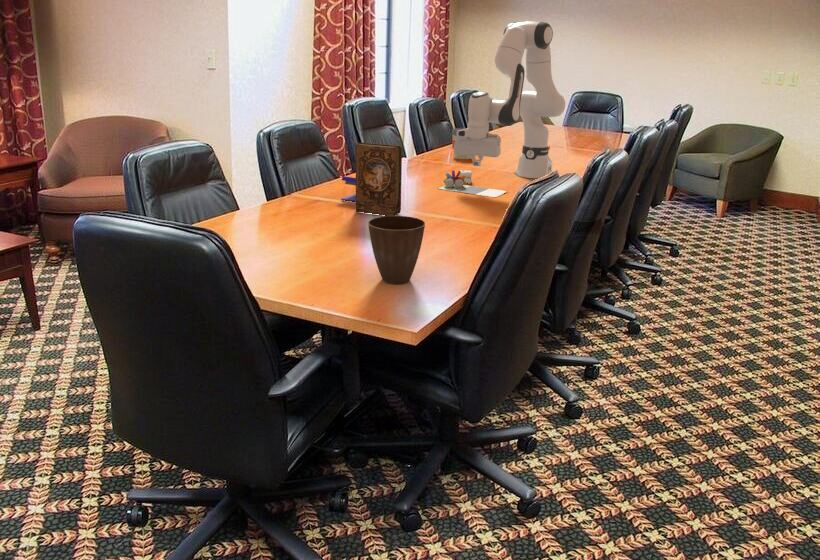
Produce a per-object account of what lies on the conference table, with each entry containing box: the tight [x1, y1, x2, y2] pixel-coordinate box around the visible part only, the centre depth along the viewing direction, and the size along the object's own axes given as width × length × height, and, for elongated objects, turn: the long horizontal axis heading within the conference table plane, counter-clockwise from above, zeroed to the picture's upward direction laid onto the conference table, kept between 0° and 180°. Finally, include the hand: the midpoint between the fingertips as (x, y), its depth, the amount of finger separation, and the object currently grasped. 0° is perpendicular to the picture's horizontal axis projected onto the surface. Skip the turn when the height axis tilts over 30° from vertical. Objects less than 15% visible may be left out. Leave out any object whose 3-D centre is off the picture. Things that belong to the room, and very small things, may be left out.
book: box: [355, 142, 403, 216], centre depth 251 cm, size 16×6×25 cm, turn 71°
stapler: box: [340, 176, 356, 202], centre depth 280 cm, size 12×28×10 cm, turn 153°
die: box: [458, 170, 473, 185], centre depth 311 cm, size 5×5×5 cm
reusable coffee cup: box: [451, 127, 471, 160], centre depth 372 cm, size 12×13×15 cm
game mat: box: [437, 184, 507, 198], centre depth 297 cm, size 14×27×1 cm, turn 59°
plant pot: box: [367, 215, 426, 285], centre depth 185 cm, size 15×15×16 cm
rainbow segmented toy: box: [443, 169, 467, 188], centre depth 301 cm, size 8×10×7 cm
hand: (476, 165), depth 293 cm, fingers closed
